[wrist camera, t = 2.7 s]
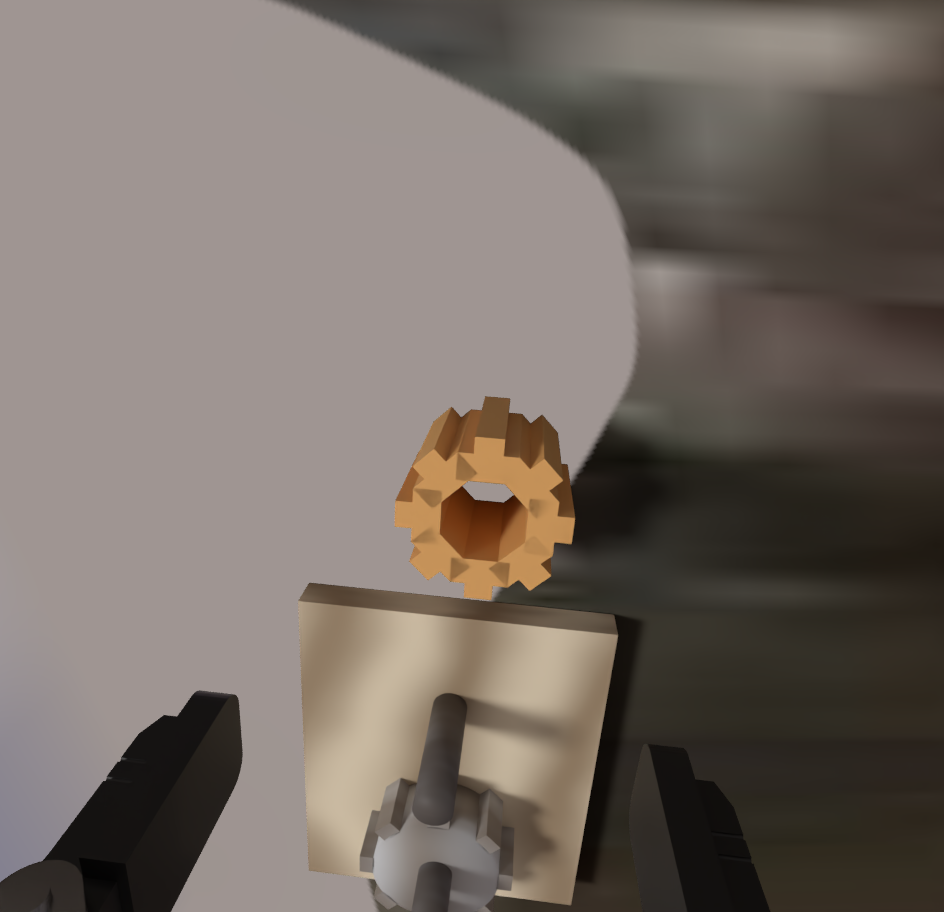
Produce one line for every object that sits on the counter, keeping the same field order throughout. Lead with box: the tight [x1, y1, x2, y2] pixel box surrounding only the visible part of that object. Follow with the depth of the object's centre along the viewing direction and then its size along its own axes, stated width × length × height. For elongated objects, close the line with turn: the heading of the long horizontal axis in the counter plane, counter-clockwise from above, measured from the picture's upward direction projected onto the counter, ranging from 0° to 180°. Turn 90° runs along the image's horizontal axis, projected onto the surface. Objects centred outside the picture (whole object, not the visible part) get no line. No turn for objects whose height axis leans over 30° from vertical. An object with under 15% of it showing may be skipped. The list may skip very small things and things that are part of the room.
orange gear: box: [395, 396, 575, 600], centre depth 24 cm, size 6×6×5 cm
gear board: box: [298, 583, 618, 912], centre depth 29 cm, size 14×17×7 cm
